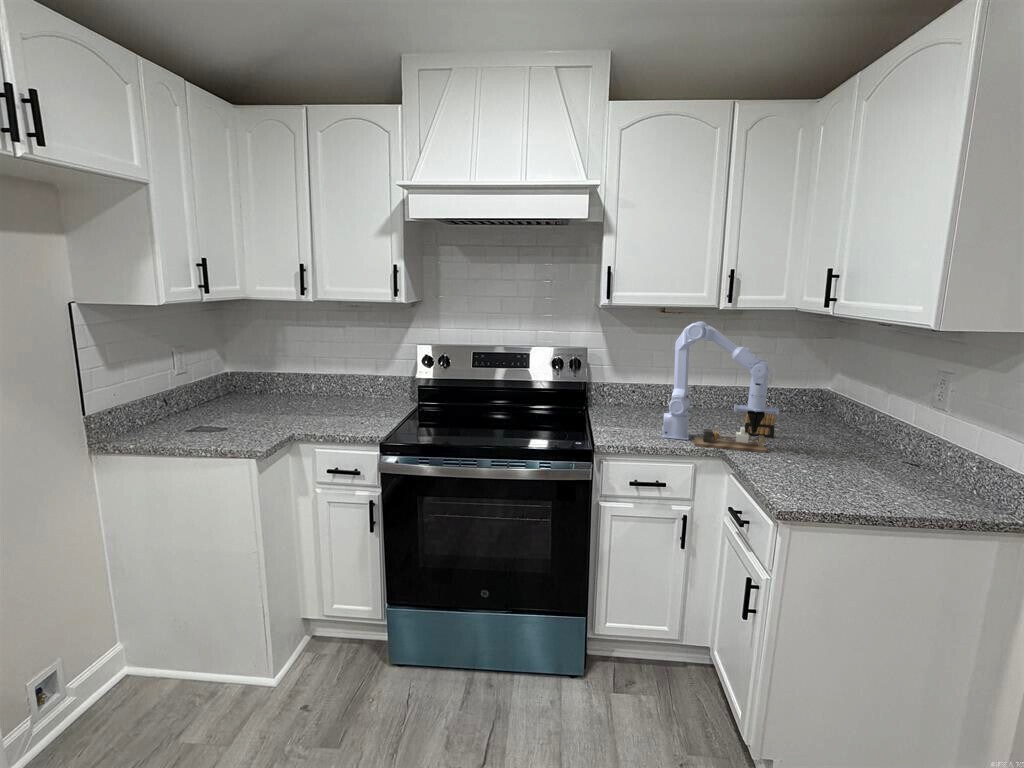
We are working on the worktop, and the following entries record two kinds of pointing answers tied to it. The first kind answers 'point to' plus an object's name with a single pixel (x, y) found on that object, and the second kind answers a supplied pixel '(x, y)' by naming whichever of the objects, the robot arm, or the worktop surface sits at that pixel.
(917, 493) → the worktop surface
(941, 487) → the worktop surface
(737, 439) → the white slotted bracket
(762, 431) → the ammunition clip
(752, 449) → the rail board
